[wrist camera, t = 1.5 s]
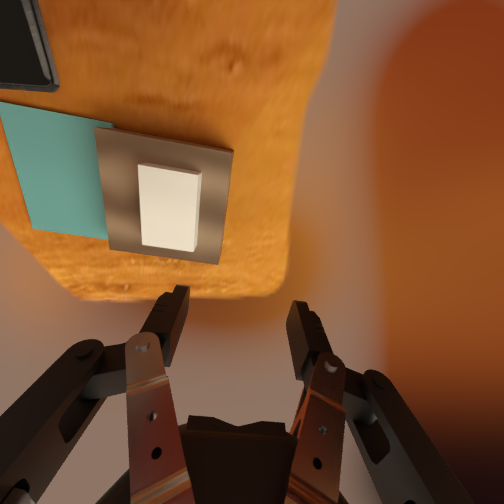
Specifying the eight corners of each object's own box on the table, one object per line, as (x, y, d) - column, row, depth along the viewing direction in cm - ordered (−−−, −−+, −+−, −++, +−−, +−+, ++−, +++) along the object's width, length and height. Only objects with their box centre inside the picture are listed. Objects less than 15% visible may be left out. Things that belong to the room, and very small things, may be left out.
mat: (1, 101, 25) (-5, 101, 24) (114, 123, 26) (111, 123, 25) (36, 227, 32) (33, 228, 31) (125, 240, 33) (123, 241, 32)
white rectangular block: (145, 162, 24) (137, 164, 22) (201, 172, 25) (198, 175, 23) (148, 237, 28) (142, 244, 27) (196, 244, 29) (193, 252, 27)
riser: (114, 128, 26) (93, 127, 23) (233, 150, 27) (231, 152, 24) (124, 236, 33) (109, 249, 29) (221, 251, 34) (218, 264, 30)
